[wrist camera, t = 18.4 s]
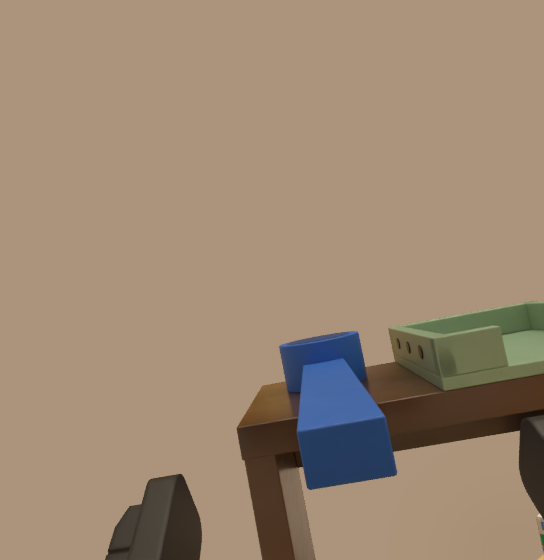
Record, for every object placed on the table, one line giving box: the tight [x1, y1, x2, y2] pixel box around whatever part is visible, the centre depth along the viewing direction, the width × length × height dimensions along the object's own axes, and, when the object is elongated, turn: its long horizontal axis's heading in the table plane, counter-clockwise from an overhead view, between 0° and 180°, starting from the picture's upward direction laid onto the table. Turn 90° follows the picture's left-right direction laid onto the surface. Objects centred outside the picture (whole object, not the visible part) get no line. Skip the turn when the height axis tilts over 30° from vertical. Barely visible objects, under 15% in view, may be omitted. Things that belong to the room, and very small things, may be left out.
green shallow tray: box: [389, 301, 544, 391], centre depth 27 cm, size 12×10×2 cm
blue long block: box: [279, 331, 397, 490], centre depth 22 cm, size 20×5×3 cm, turn 176°
